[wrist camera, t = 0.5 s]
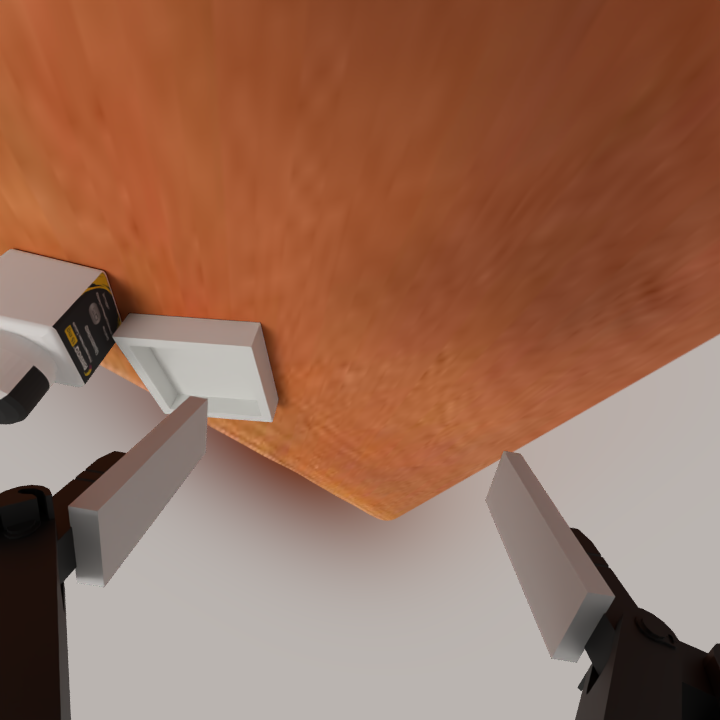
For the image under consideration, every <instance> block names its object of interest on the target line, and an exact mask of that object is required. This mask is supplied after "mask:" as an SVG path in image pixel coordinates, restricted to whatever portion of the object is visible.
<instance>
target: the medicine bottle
mask: <svg viewBox="0 0 720 720" xmlns="http://www.w3.org/2000/svg"><path fill="white" fill-rule="evenodd" d="M121 324H122V321H121V318H120V315H119V312H118V309H117V305H116V302H115V299H114V296H113V293H112V290H111V287H110V284H109V281H108V278H107V275H106V273H105V272H104V271H102V270H98V269H94V268H90V267H86V266H82V265H78V264H73V263H69V262H65V261H61V260H57V259H53V258H49V257H44V256H40V255H36V254H32V253H28V252H24V251H19V250H15V249H10V250H8V251H7V252H5V253H4V254H3V255H2V256H0V424H13V423H16V422H20V421H22V420H24V419H25V418H26V417H27V416H28V414H29V413H30V412H31V411H32V410H33V408H34V407H35V406H36V405H37V403H38V402H39V401H40V400H41V398H42V397H43V396H44V395H45V393H46V392H47V391H48V390H49V388H50V387H51V386H52V385H53V383H60V384H64V385H70V386H75V387H82V386H84V385H85V384H86V382H87V381H88V380H89V378H90V377H91V375H92V374H93V373H94V371H95V370H96V368H97V367H98V366H99V364H100V363H101V362H102V360H103V359H104V357H105V356H106V355H107V353H108V352H109V351H110V349H111V348H112V346H113V345H114V344H115V340H114V339H113V337H112V336H113V334H114V333H115V332H116V330H117V329H118V328H119V326H120V325H121Z"/></svg>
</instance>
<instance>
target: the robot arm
mask: <svg viewBox="0 0 720 720" xmlns="http://www.w3.org/2000/svg"><path fill="white" fill-rule="evenodd" d="M207 412H208V399H206V398H200V397H194V396H190V397H188V398H187V399H186V400H185V401H184V402H183V403H182V404H181V405H180V406H178V407H177V408H176V409H175V410H174V411H173V412H172V413H171V414H170V415H169V416H167V417H166V418H165V419H164V420H163V421H162V422H161V423H160V424H158V425H157V426H156V427H155V428H154V429H153V430H152V431H151V432H150V433H149V434H147V435H146V436H145V437H144V438H143V439H142V440H141V441H140V442H139V443H137V444H136V445H135V446H134V447H133V448H132V449H131V450H130V451H129V452H127V453H123V452H116V451H114V452H112V453H109V454H107V455H105V456H103V457H101V458H99V459H97V460H96V461H95V462H94V463H93V464H91V465H90V466H89V467H88V468H86V470H85V471H83V472H82V473H80V474H79V475H78V476H77V477H76V479H75V480H74V479H73V480H72V481H71V482H70V483H68V484H67V485H66V486H65V487H63V488H62V489H61V490H60V491H59V492H57V493H56V494H55V495H54V496H53V497H52V494H51V492H50V490H49V489H48V488H46V487H44V486H38V485H27V486H20V487H16V488H13V489H10V490H6V491H4V492H2V493H0V720H71V714H70V691H69V669H68V649H67V628H66V606H65V587H64V580H65V579H66V578H67V577H68V576H69V575H70V573H71V572H72V571H73V570H74V569H76V578H77V583H81V584H87V585H93V586H100V587H105V585H106V584H107V583H108V581H109V580H110V579H111V578H112V576H113V575H114V573H115V572H116V571H117V569H118V568H119V567H120V566H121V564H122V563H123V562H124V560H125V559H126V558H127V556H128V555H129V554H130V552H131V551H132V550H133V548H134V547H135V546H136V544H137V543H138V542H139V540H140V539H141V538H142V536H143V535H144V534H145V532H146V531H147V530H148V528H149V527H150V526H151V524H152V523H153V522H154V520H155V519H156V518H157V516H158V515H159V514H160V513H161V511H162V510H163V509H164V507H165V506H166V504H167V503H168V502H169V501H170V499H171V498H172V497H173V495H174V494H175V493H176V491H177V490H178V489H179V487H180V486H181V485H182V483H183V482H184V481H185V479H186V478H187V477H188V475H189V474H190V473H191V471H192V470H193V469H194V468H195V466H196V465H197V464H198V462H199V461H200V460H201V458H202V457H203V456H204V454H205V453H206V436H207V434H206V433H207ZM485 501H486V503H487V505H488V508H489V510H490V513H491V515H492V517H493V520H494V522H495V525H496V527H497V529H498V532H499V534H500V536H501V539H502V541H503V544H504V546H505V549H506V551H507V553H508V556H509V558H510V560H511V563H512V565H513V568H514V570H515V572H516V575H517V577H518V580H519V582H520V584H521V586H522V589H523V592H524V594H525V596H526V598H527V601H528V604H529V606H530V608H531V611H532V613H533V615H534V618H535V620H536V623H537V625H538V627H539V630H540V632H541V635H542V637H543V639H544V642H545V644H546V647H547V649H548V651H549V654H550V656H551V659H558V660H564V661H570V662H577V661H578V659H579V658H580V656H581V654H582V653H583V651H584V649H585V650H586V651H587V654H588V656H589V658H590V660H591V661H592V665H591V666H590V668H589V670H588V671H587V673H586V674H585V676H584V678H583V679H582V681H581V683H580V684H579V686H578V688H579V689H580V690H581V691H582V690H583V691H582V695H581V699H580V703H579V707H578V711H577V715H576V719H575V720H720V644H716V645H715V646H714V647H713V648H712V649H711V651H710V652H709V653H706V652H704V651H701V650H699V649H697V648H694V647H692V646H690V645H687V644H685V643H683V642H681V641H679V640H678V638H677V637H676V635H675V634H674V632H673V631H672V630H671V629H670V628H669V627H668V626H667V625H666V624H665V623H664V622H663V621H661V620H660V619H659V618H657V617H656V616H655V615H653V614H652V613H650V612H648V611H646V610H644V609H641V608H638V607H637V605H636V604H635V602H634V601H633V600H632V598H631V597H630V596H629V594H628V592H627V591H626V590H625V588H624V587H623V585H622V584H621V583H620V581H619V580H618V578H617V577H616V575H615V574H614V573H613V571H612V570H611V569H610V568H609V567H608V564H607V563H606V561H605V560H604V558H603V557H601V554H600V553H599V551H598V550H597V549H596V547H595V546H594V544H593V543H592V542H591V541H590V540H589V539H588V538H587V537H586V536H585V535H584V534H583V533H582V532H581V531H580V530H578V529H575V528H569V526H568V525H567V523H566V522H565V520H564V519H563V517H562V516H561V514H560V513H559V512H558V510H557V508H556V507H555V505H554V503H553V502H552V501H551V499H550V497H549V496H548V495H547V493H546V491H545V490H544V488H543V487H542V485H541V484H540V482H539V481H538V479H537V478H536V476H535V475H534V474H533V472H532V471H531V469H530V467H529V466H528V464H527V463H526V461H525V460H524V458H523V457H522V455H521V454H519V453H513V452H507V451H503V454H502V457H501V460H500V462H499V465H498V468H497V470H496V473H495V476H494V478H493V481H492V484H491V487H490V489H489V492H488V495H487V498H486V500H485Z"/></svg>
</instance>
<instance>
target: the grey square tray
mask: <svg viewBox="0 0 720 720" xmlns="http://www.w3.org/2000/svg"><path fill="white" fill-rule="evenodd" d="M112 337H113V339H114V340H115V342H116V343H117V345H118V346H119V348H120V349H121V351H122V352H123V354H124V355H125V356H126V358H127V359H128V361H129V362H130V364H131V365H132V367H133V368H134V370H135V371H136V373H137V374H138V375H139V377H140V378H141V380H142V381H143V383H144V384H145V386H146V387H147V389H148V390H149V392H150V393H151V394H152V396H153V397H154V399H155V400H156V402H157V403H158V405H159V406H160V408H161V409H162V411H163V412H164V413H165V414H171V413H172V412H173V411H174V410H175V409H176V408H177V407H178V406H180V405H181V404H182V403H183V402H184V401H185V400H186V399H187V398H188V397H190V396H194V397H200V398H206V399H208V412H207V417H214V418H226V419H239V420H252V421H264V422H273V419H274V415H275V411H276V407H277V404H278V400H279V399H278V395H277V391H276V387H275V383H274V378H273V374H272V370H271V366H270V362H269V357H268V353H267V349H266V345H265V341H264V336H263V332H262V328H261V324H260V323H257V322H243V321H230V320H216V319H202V318H189V317H175V316H161V315H147V314H134V313H129V314H128V315H127V317H126V318H125V319H124V321H123V322H122V324H121V325H120V326H119V328H118V329H117V330H116V332H115V333H114V334H113V336H112Z"/></svg>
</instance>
